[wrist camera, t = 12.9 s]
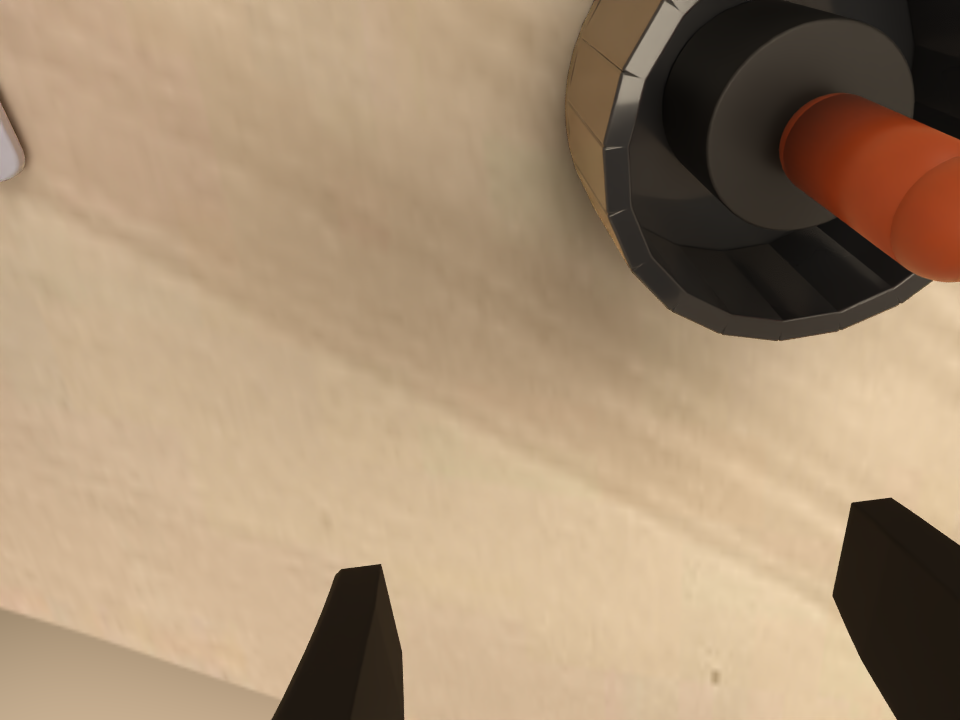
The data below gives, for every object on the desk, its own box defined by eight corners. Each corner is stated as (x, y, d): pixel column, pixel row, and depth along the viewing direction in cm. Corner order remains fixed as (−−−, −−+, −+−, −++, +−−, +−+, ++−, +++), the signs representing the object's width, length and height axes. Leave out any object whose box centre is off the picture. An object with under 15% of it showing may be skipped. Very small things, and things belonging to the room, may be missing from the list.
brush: (663, 197, 18) (829, 394, 11) (659, 16, 16) (861, 111, 9) (830, 169, 18) (1107, 348, 11) (848, -17, 16) (1206, 52, 9)
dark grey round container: (579, 283, 20) (616, 369, 16) (546, -80, 15) (588, -73, 12) (894, 230, 20) (1003, 304, 16) (951, -151, 15) (1117, -166, 12)
